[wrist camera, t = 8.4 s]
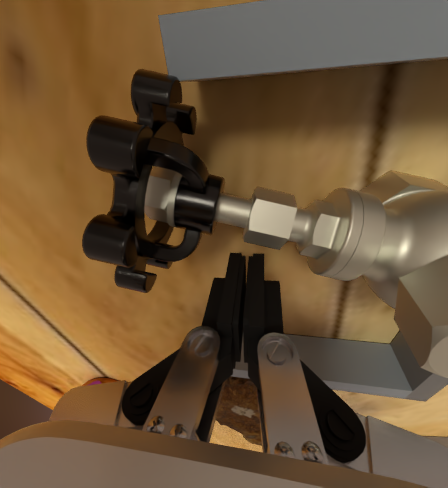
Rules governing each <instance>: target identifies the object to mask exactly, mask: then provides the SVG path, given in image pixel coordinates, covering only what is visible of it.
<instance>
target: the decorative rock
mask: <svg viewBox="0 0 448 488" xmlns="http://www.w3.org/2000/svg"><path fill="white" fill-rule="evenodd" d="M216 420H217V421H218V422H219V423H220V425H227V426H228V427H230V428H232V429H234V430H236V431H238V432H240V433H241V434H243V437H244V438H245V439H246V440H247V441H249V442H251V443H252V444H257V445H261V446H262V440H261V430H260V421H259V412H258V402H257V393H256V386H255V385H254V383H253V382H252V381H251V379H248V378H240V377H233V376H230V377H229V378H228V379H227V380H226V381H225V386H224V390H223V394H222V397H221V401H220V405H219V408H218V412H217V416H216Z"/></svg>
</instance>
